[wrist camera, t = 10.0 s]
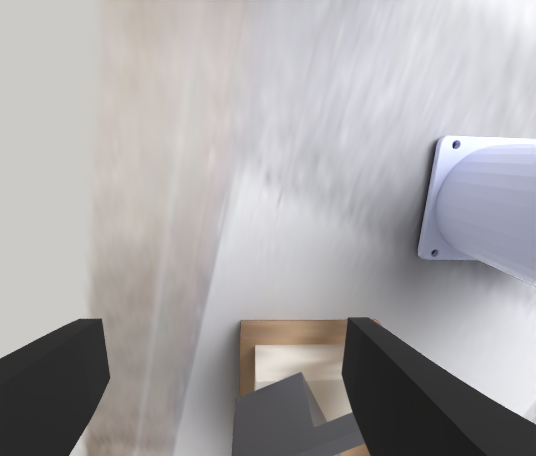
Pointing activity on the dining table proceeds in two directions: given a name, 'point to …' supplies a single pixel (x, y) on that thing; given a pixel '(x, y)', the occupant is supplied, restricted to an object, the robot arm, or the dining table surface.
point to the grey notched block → (289, 423)
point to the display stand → (298, 361)
